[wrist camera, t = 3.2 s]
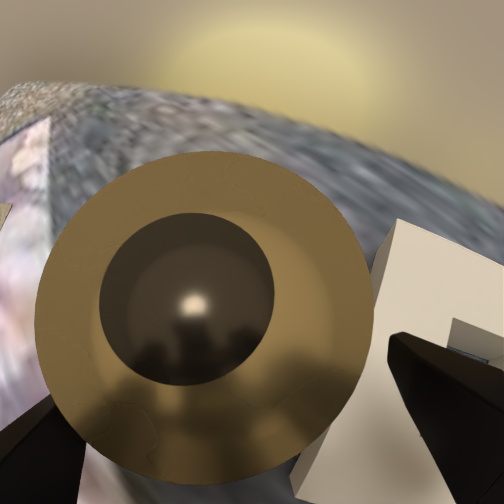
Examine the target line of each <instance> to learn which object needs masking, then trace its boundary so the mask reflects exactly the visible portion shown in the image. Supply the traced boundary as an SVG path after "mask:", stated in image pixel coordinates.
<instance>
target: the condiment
mask: <svg viewBox="0 0 504 504" xmlns="http://www.w3.org/2000/svg"><path fill="white" fill-rule="evenodd" d="M11 205H12V204H10V203H0V229H1V227H2V225H3V223H4V221H5V218H6V216H7V215H8V213H9V210H10V208H11Z"/></svg>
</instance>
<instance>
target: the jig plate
mask: <svg viewBox="0 0 504 504" xmlns="http://www.w3.org/2000/svg"><path fill="white" fill-rule="evenodd" d="M370 278H371V283H372V289H373V297H374V324H373V332H372V340H371V346H370V349H369V353H368V357H367V360H366V364H365V367H364V370H363V372H362V375H361V377H360V379H359V381H358V384H357V386H356V388H355V390H354V392H353V394H352V396H351V397H350V399H349V400H348V402H347V403H346V405H345V406H344V408H343V409H342V411H341V412H340V414H339V415H338V417H337V418H336V419H335V420H334V421H333V422H332V423H331V425H330V426H329V427H328V428H327V429H326V430H325V431H324V432H323V433H322V435H321V436H320V437H318V438H317V439H316V440H315V441H314V442H312V443H311V444H310V445H309V446H307V447H306V448H305V449H304V450H303V451H302V452H301V454H300V456H299V458H298V460H297V462H296V464H295V466H294V468H293V470H292V471H291V473H290V475H289V477H290V481H291V485H292V489H293V492H294V496H295V498H298V499H301V500H304V501H308V502H311V503H315V504H456V503H455V501H454V499H453V497H452V495H451V493H450V491H449V489H448V487H447V485H446V483H445V481H444V479H443V477H442V475H441V473H440V471H439V469H438V467H437V465H436V463H435V461H434V459H433V457H432V455H431V453H430V451H429V449H428V448H427V446H426V444H425V442H424V440H423V438H422V437H419V435H420V433H419V431H418V429H417V427H416V425H415V423H414V422H413V420H412V418H411V416H410V414H409V413H408V411H407V409H406V407H405V404H404V402H403V400H402V397H401V395H400V392H399V390H398V388H397V385H396V383H395V380H394V378H393V376H392V373H391V371H390V369H389V366H388V363H387V352H388V342H389V337H390V336H391V335H392V334H395V333H398V332H402V331H404V332H407V333H409V334H412V335H414V336H417V337H419V338H422V339H424V340H427V341H429V342H432V343H435V344H437V345H440V346H442V347H445V348H446V347H447V346H450V347H452V348H455V349H458V350H461V351H463V352H466V353H469V354H472V355H475V356H477V357H480V358H483V359H486V360H489V361H488V364H489V365H492V366H494V367H497V368H499V369H502V370H503V371H504V266H502V265H500V264H498V263H496V262H494V261H492V260H490V259H488V258H486V257H484V256H482V255H480V254H477V253H475V252H473V251H471V250H469V249H467V248H465V247H463V246H460V245H458V244H456V243H454V242H452V241H449V240H447V239H445V238H443V237H440V236H438V235H436V234H433V233H431V232H429V231H427V230H424V229H422V228H419V227H417V226H415V225H412V224H410V223H407V222H405V221H403V220H400V219H398V218H397V220H396V222H395V223H394V225H393V227H392V228H391V230H390V231H389V233H388V235H387V236H386V238H385V240H384V241H383V243H382V244H381V246H380V247H379V249H378V251H377V252H376V255H375V259H374V262H373V266H372V269H371V273H370Z"/></svg>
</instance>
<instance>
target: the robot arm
mask: <svg viewBox="0 0 504 504" xmlns="http://www.w3.org/2000/svg"><path fill="white" fill-rule="evenodd" d="M387 363H388V366H389V369H390V371H391V373H392V376H393V378H394V380H395V383H396V385H397V388H398V390H399V392H400V395H401V397H402V400H403V402H404V404H405V407H406V409H407V411H408V413H409V414H410V416H411V418H412V420H413V422H414V423H415V425H416V427H417V429H418V431H419V433H420V434H421V436H422V438H423V440H424V442H425V444H426V446H427V448H428V449H429V451H430V453H431V455H432V457H433V459H434V461H435V463H436V465H437V467H438V469H439V471H440V473H441V475H442V477H443V479H444V481H445V483H446V485H447V487H448V489H449V491H450V493H451V495H452V497H453V499H454V501H455V503H456V504H504V371H503V370H502V369H499V368H497V367H494V366H492V365H489V364H486V363H484V362H481V361H478V360H476V359H473V358H471V357H468V356H465V355H463V354H460V353H458V352H455V351H452V350H450V349H447V348H445V347H442V346H440V345H437V344H435V343H432V342H429V341H427V340H424V339H422V338H419V337H417V336H414V335H412V334H409V333H407V332H404V331H402V332H398V333H395V334H392V335H391V336H390V337H389V342H388V352H387ZM85 451H86V441H85V440H84V439H83V438H82V437H81V436H80V435H79V434H78V433H77V432H76V431H75V430H74V428H73V427H72V426H71V425H70V424H69V423H68V421H67V420H66V419H65V417H64V416H63V414H62V413H61V411H60V410H59V408H58V407H57V405H56V403H55V401H54V399H53V397H52V395H51V394H49V395H48V396H47V397H45V398H44V399H43V400H41V401H40V402H39V403H37V404H36V405H35V406H33V407H32V408H31V409H29V410H28V411H27V412H25V413H24V414H23V415H21V416H20V417H19V418H17V419H16V420H15V421H13V422H12V423H11V424H9V425H8V426H7V427H5V428H4V429H3V430H1V431H0V504H77V499H78V492H79V485H80V479H81V473H82V468H83V462H84V457H85Z"/></svg>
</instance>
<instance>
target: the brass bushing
mask: <svg viewBox="0 0 504 504" xmlns="http://www.w3.org/2000/svg"><path fill="white" fill-rule="evenodd" d="M373 324H374V297H373V289H372V283H371V278H370V272H369V269H368V266H367V263H366V260H365V257H364V254H363V251H362V248H361V246H360V244H359V242H358V240H357V238H356V236H355V234H354V232H353V230H352V229H351V227H350V226H349V224H348V223H347V221H346V220H345V218H344V217H343V216H342V214H341V213H340V212H339V210H338V209H337V208H336V207H335V206H334V205H333V204H332V203H331V201H330V200H329V199H328V198H327V197H326V196H325V195H324V194H322V193H321V192H320V191H319V190H318V189H317V188H315V187H314V186H313V185H312V184H311V183H309V182H308V181H306V180H304V179H303V178H301V177H300V176H298V175H297V174H295V173H294V172H292V171H290V170H288V169H286V168H284V167H281V166H279V165H277V164H275V163H272V162H269V161H266V160H263V159H261V158H257V157H253V156H249V155H244V154H239V153H231V152H222V151H201V152H191V153H183V154H178V155H173V156H169V157H165V158H161V159H158V160H155V161H152V162H149V163H147V164H144V165H142V166H140V167H137V168H135V169H133V170H131V171H129V172H127V173H125V174H124V175H122V176H120V177H118V178H117V179H115V180H114V181H112V182H111V183H109V184H108V185H107V186H105V187H104V188H102V189H101V190H100V191H98V192H97V193H96V194H95V195H94V196H93V197H92V198H91V199H89V200H88V201H87V202H86V203H85V204H84V205H83V206H82V207H81V209H80V210H79V211H78V212H77V213H76V214H75V215H74V216H73V217H72V219H71V220H70V222H69V223H68V224H67V226H66V227H65V228H64V230H63V231H62V233H61V234H60V236H59V238H58V240H57V241H56V243H55V245H54V247H53V248H52V250H51V253H50V255H49V257H48V260H47V262H46V264H45V267H44V270H43V273H42V276H41V280H40V283H39V287H38V293H37V298H36V304H35V320H34V327H35V342H36V349H37V354H38V359H39V364H40V367H41V371H42V374H43V377H44V380H45V382H46V385H47V387H48V389H49V391H50V393H51V395H52V397H53V399H54V401H55V403H56V405H57V407H58V408H59V410H60V411H61V413H62V414H63V416H64V417H65V419H66V420H67V421H68V423H69V424H70V425H71V426H72V427H73V428H74V430H75V431H76V432H77V433H78V434H79V435H80V436H81V437H82V438H83V439H84V440H85V441H86V442H87V443H88V444H90V445H91V446H92V447H93V448H94V449H96V450H97V451H98V452H99V453H100V454H102V455H103V456H105V457H107V458H108V459H110V460H111V461H113V462H115V463H116V464H118V465H120V466H121V467H124V468H126V469H128V470H130V471H133V472H135V473H138V474H140V475H143V476H145V477H149V478H153V479H156V480H160V481H165V482H169V483H177V484H188V485H208V484H222V483H227V482H232V481H237V480H241V479H245V478H249V477H252V476H255V475H257V474H260V473H263V472H265V471H268V470H270V469H272V468H275V467H277V466H278V465H280V464H282V463H284V462H285V461H287V460H289V459H290V458H292V457H294V456H295V455H297V454H299V453H300V452H301V451H303V450H304V449H305V448H306V447H307V446H309V445H310V444H311V443H312V442H314V441H315V440H316V439H317V438H318V437H320V436H321V435H322V433H323V432H324V431H325V430H326V429H327V428H328V427H329V426H330V425H331V423H332V422H333V421H334V420H335V419H336V418H337V417H338V415H339V414H340V412H341V411H342V409H343V408H344V406H345V405H346V403H347V402H348V400H349V399H350V397H351V396H352V394H353V392H354V390H355V388H356V386H357V384H358V381H359V379H360V377H361V375H362V372H363V370H364V367H365V364H366V360H367V357H368V353H369V349H370V346H371V340H372V332H373Z"/></svg>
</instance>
